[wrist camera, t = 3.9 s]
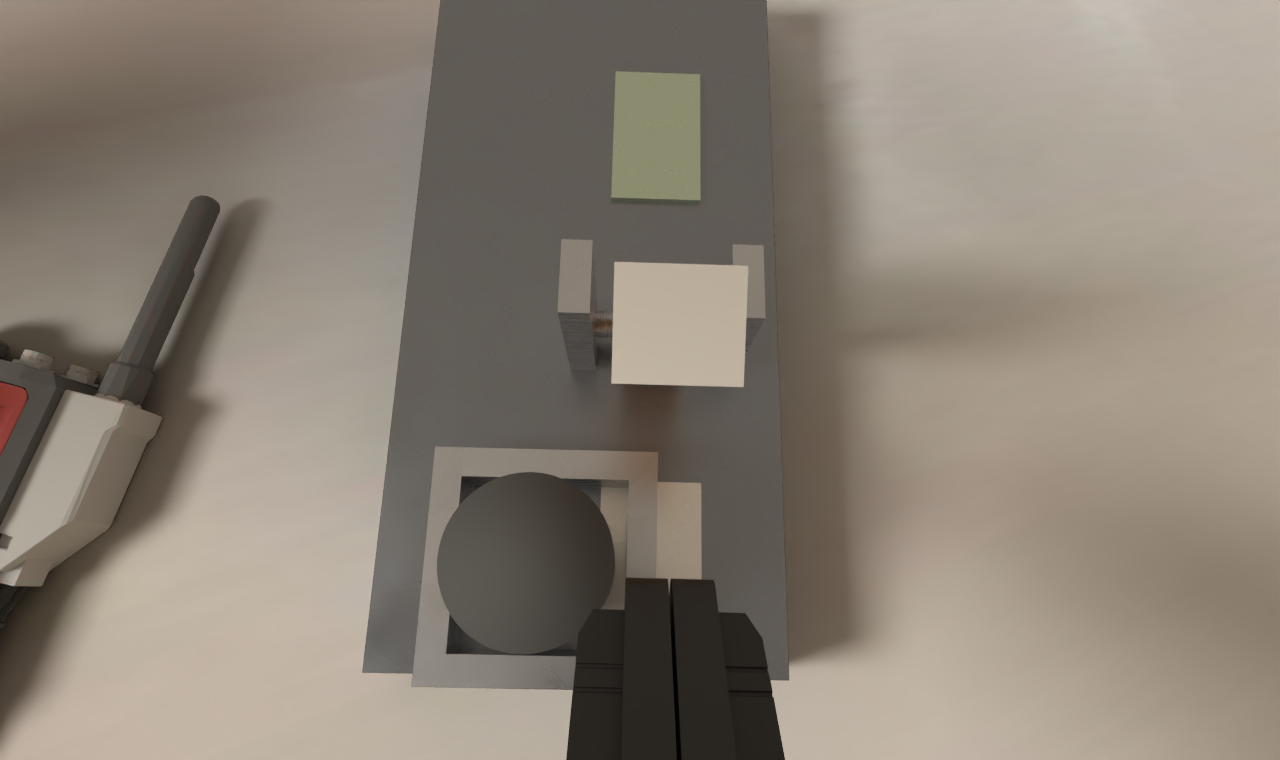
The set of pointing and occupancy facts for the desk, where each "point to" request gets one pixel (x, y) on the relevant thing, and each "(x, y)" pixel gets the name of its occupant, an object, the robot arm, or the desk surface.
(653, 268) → the breaker lever
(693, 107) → the breaker plate
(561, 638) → the button
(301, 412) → the desk surface
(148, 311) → the walkie-talkie
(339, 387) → the desk surface
